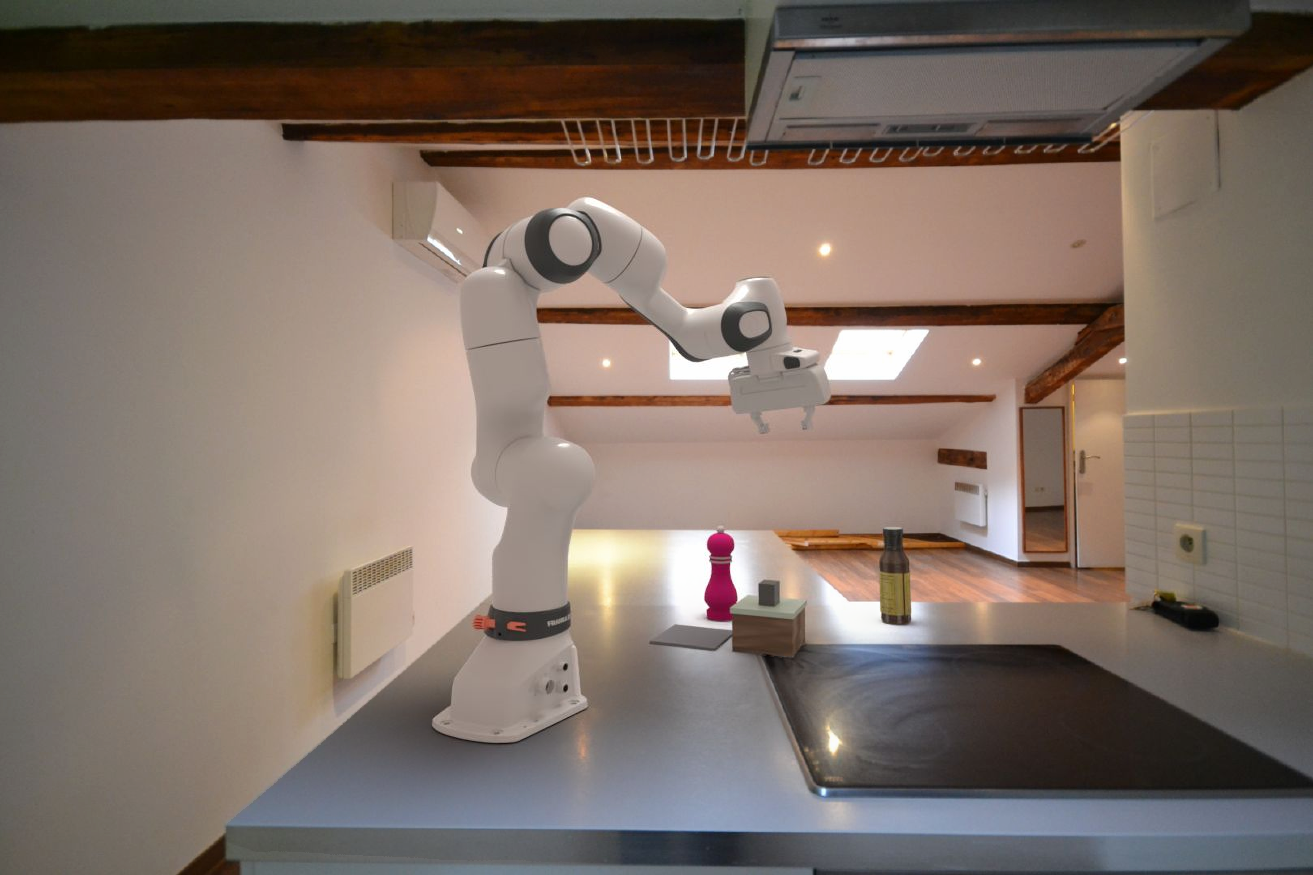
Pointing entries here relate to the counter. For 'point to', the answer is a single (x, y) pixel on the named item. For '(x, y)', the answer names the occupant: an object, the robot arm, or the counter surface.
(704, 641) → the mat
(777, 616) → the lid
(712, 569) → the pepper mill
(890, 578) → the sauce bottle
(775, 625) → the box
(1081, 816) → the counter surface
